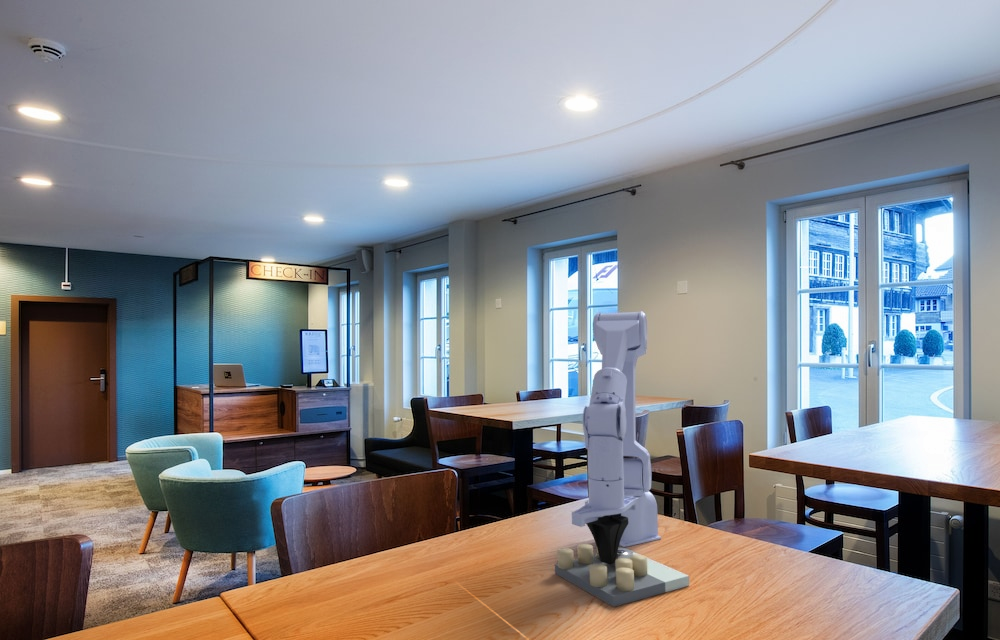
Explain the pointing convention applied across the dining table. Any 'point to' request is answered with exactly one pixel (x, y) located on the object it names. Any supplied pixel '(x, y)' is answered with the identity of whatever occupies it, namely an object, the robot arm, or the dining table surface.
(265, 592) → the dining table surface
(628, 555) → the steel nut
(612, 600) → the board
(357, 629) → the dining table surface
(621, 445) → the robot arm
